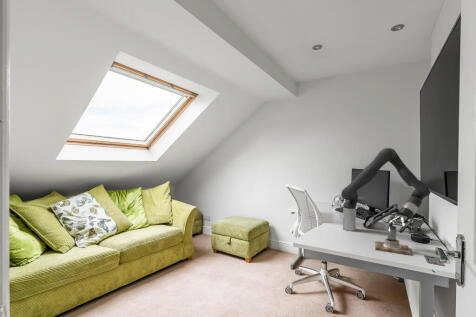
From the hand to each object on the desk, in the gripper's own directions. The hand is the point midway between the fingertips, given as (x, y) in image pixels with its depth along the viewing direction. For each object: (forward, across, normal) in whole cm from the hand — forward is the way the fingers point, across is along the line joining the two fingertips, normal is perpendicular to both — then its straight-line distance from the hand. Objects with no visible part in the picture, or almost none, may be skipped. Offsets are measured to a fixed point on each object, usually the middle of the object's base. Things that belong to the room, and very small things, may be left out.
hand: (393, 230), depth 155 cm
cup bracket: (+9, 0, +7) cm, 12 cm away
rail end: (+8, 0, +6) cm, 10 cm away
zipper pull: (-28, -26, +45) cm, 59 cm away
